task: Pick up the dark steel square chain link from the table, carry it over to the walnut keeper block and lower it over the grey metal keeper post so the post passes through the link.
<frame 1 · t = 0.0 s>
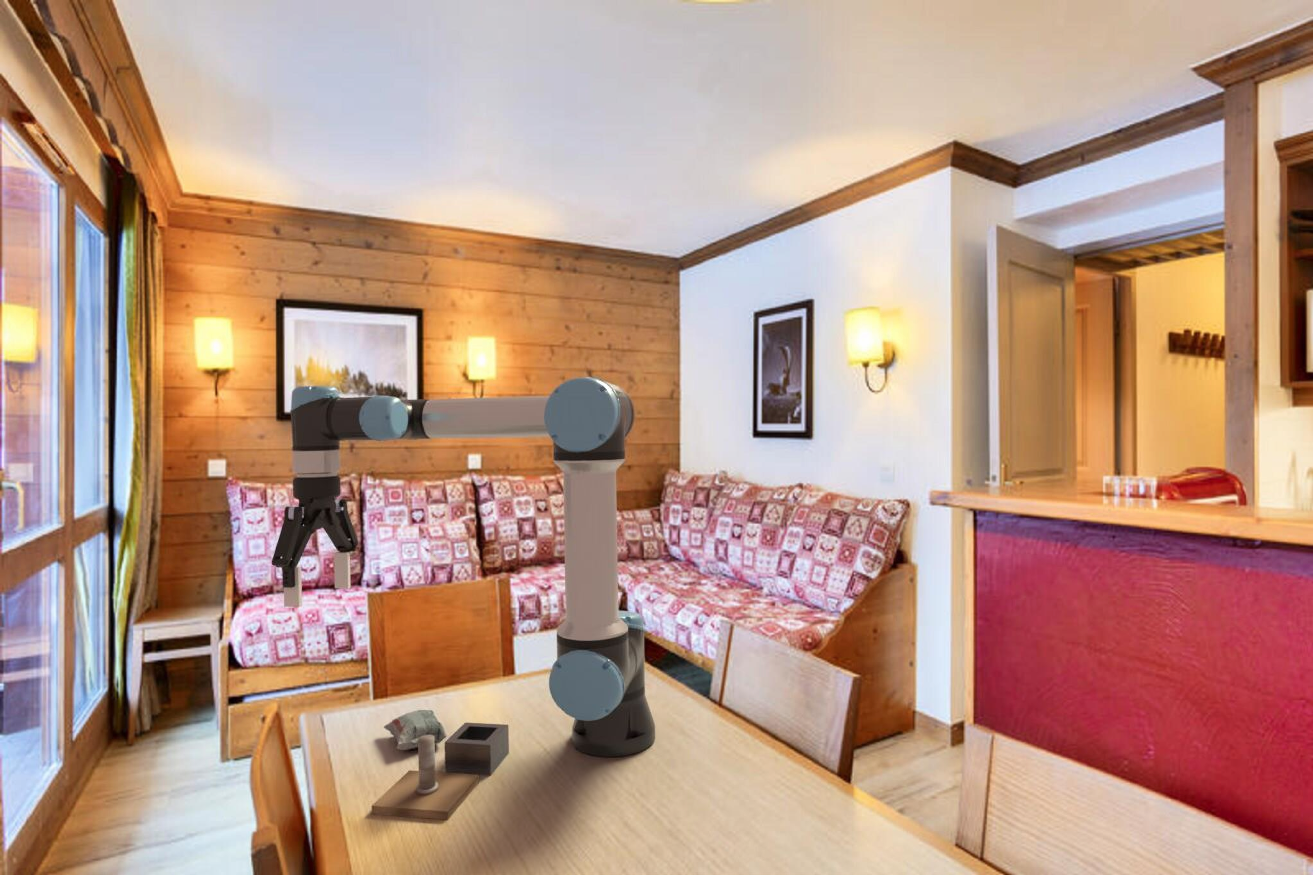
hand: (319, 596, 123), 28 cm above the table, fingers open, 13 cm apart
link: (477, 762, 120), on the table
keeper: (427, 797, 109), on the table
packaged food: (414, 744, 129), on the table
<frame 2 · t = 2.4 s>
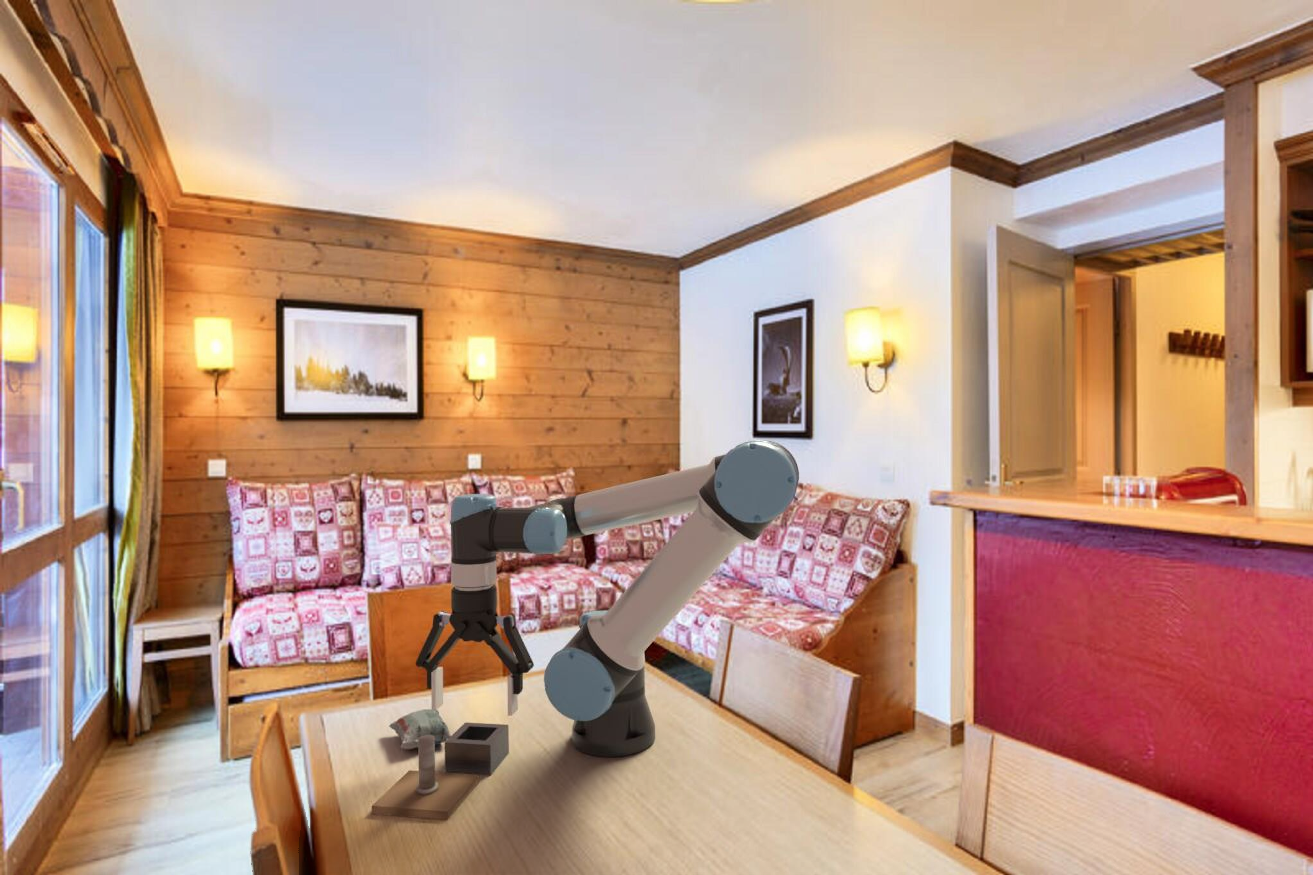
hand: (474, 710, 120), 9 cm above the table, fingers open, 13 cm apart
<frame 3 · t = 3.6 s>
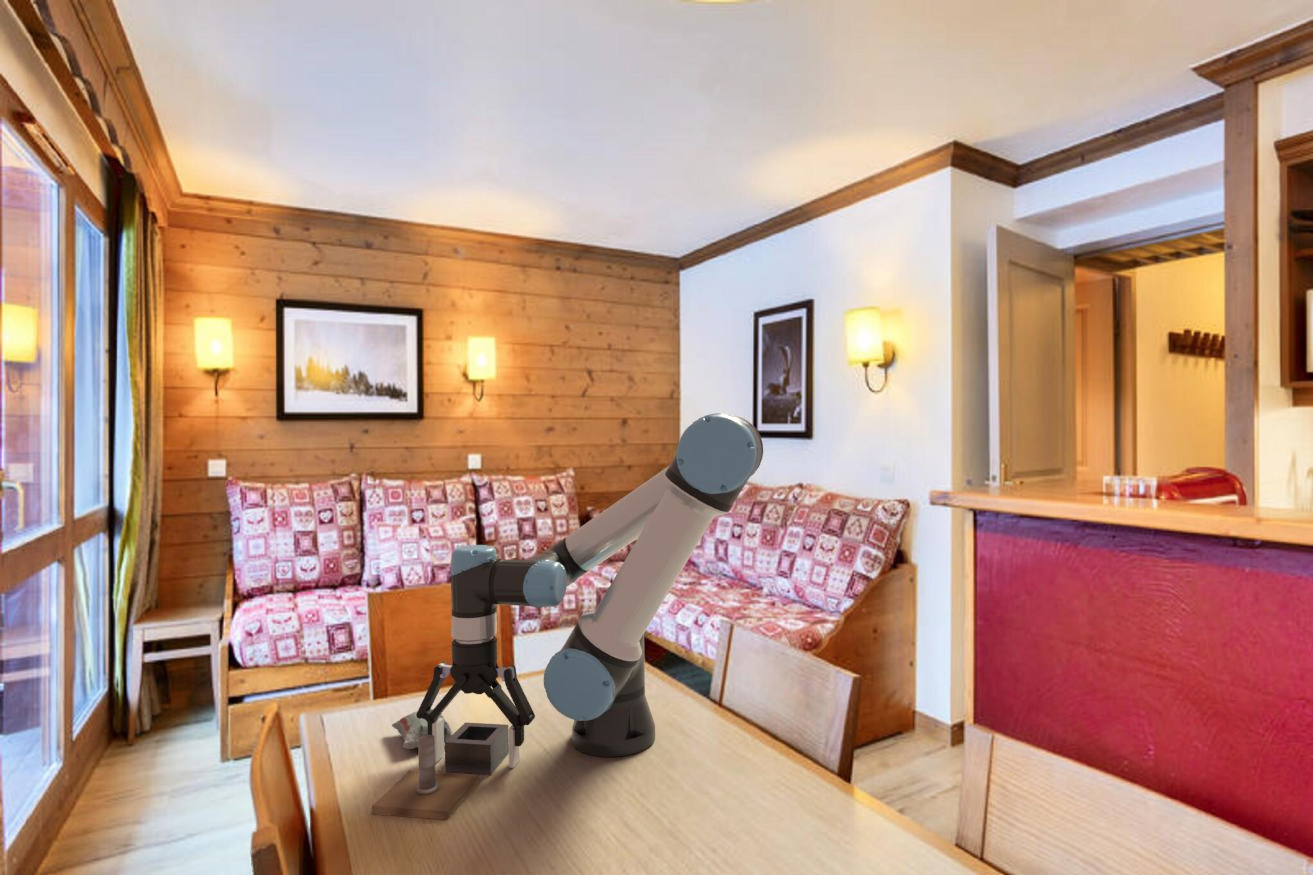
hand: (476, 761, 121), 0 cm above the table, fingers open, 13 cm apart
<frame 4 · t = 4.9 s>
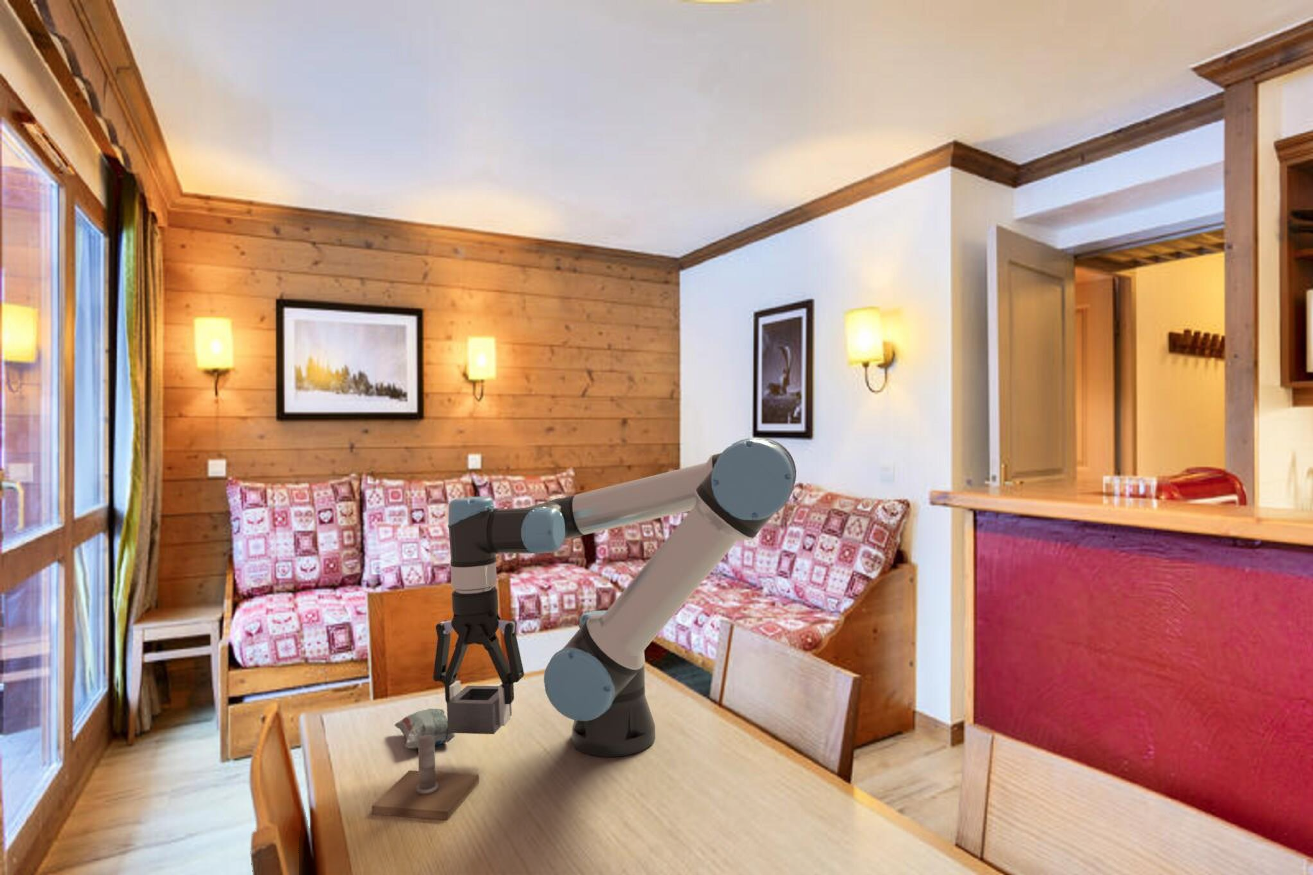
hand: (480, 721, 120), 7 cm above the table, fingers closed on link, 8 cm apart
link: (480, 723, 120), point 7 cm above the table, touching gripper
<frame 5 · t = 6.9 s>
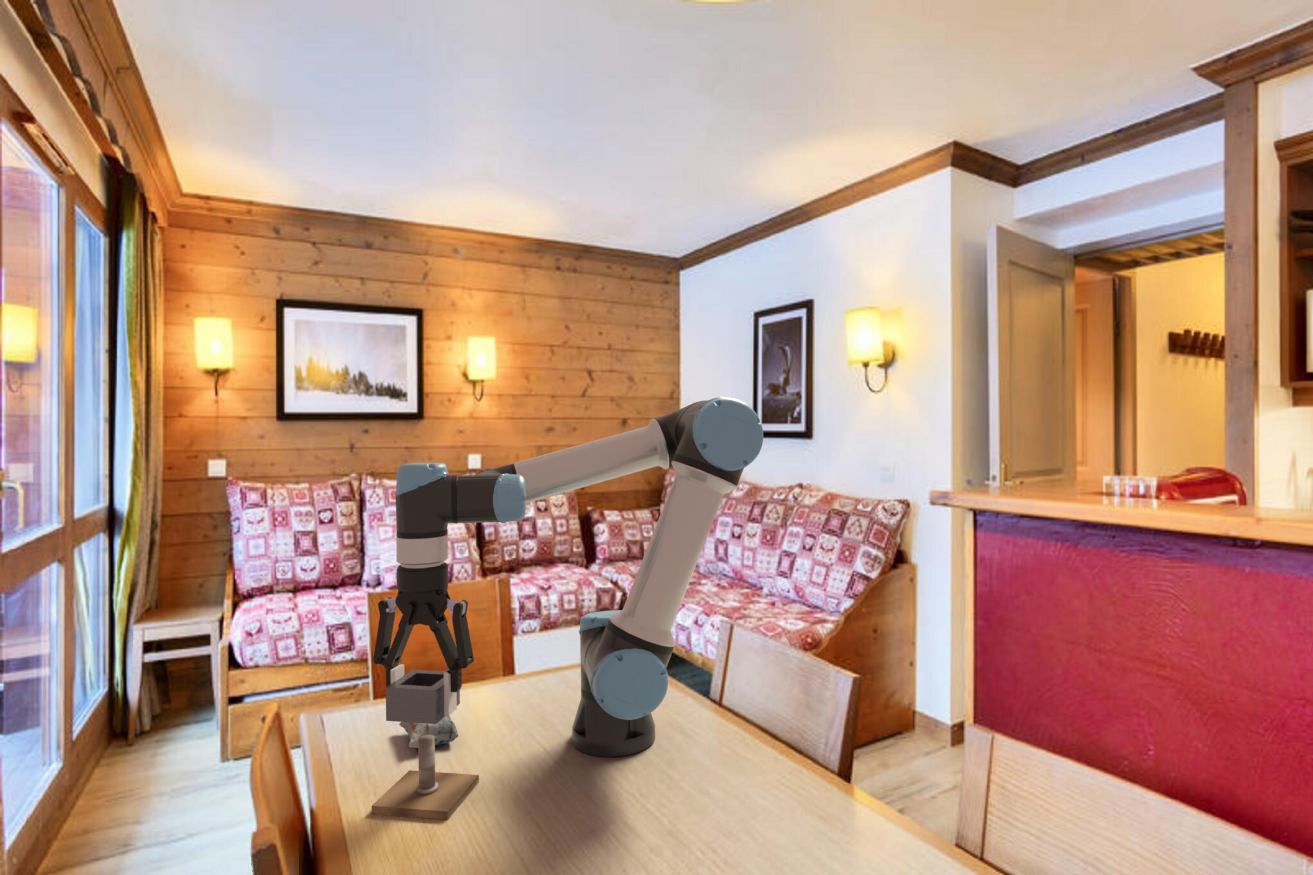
hand: (424, 710, 109), 14 cm above the table, fingers closed on link, 8 cm apart
link: (424, 711, 109), point 13 cm above the table, touching gripper
when the fingers open (2 cm above the table, at t = 9.0 s): link stays where it is, resting on keeper.
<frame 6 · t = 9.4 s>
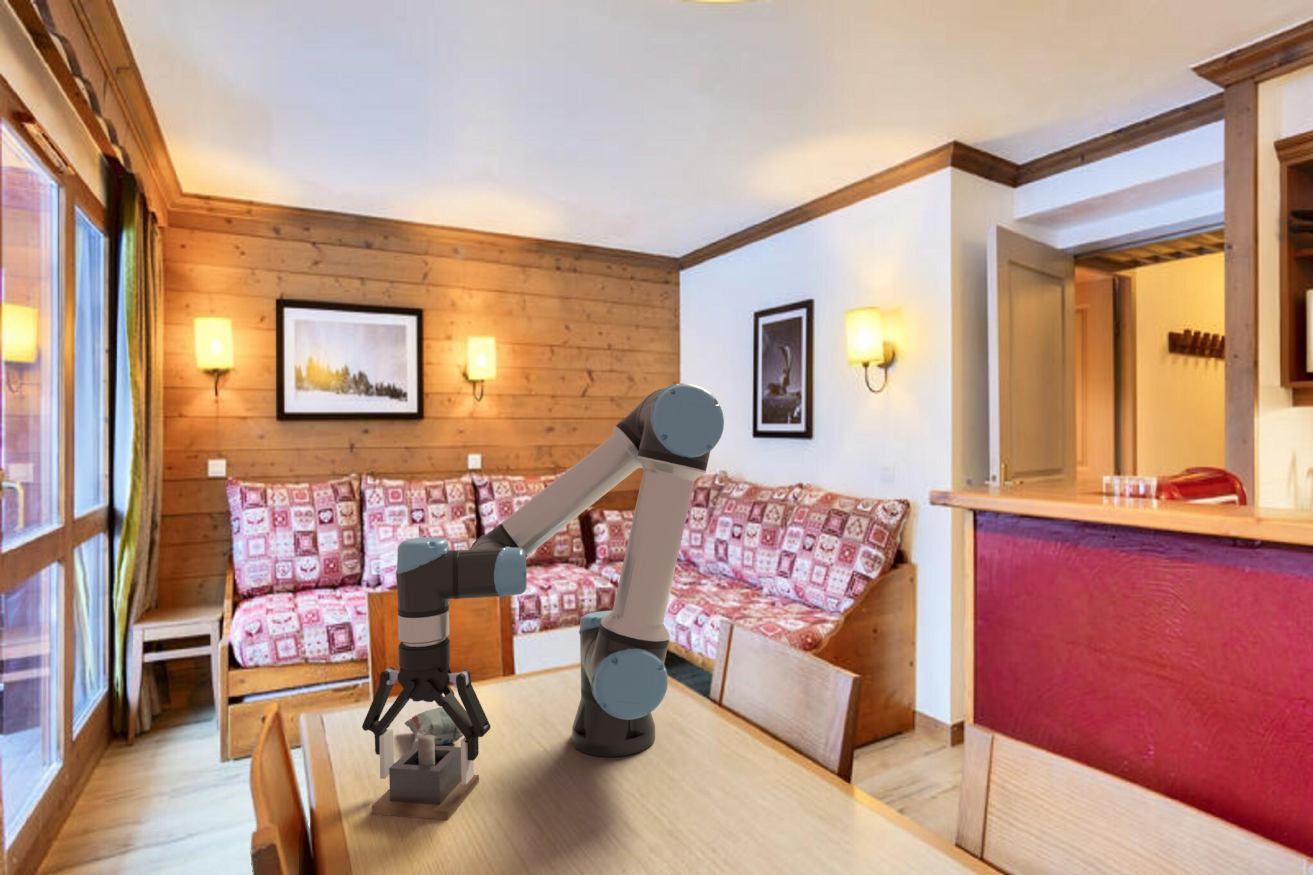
hand: (427, 777, 109), 3 cm above the table, fingers open, 13 cm apart
link: (427, 789, 109), point 1 cm above the table, touching keeper
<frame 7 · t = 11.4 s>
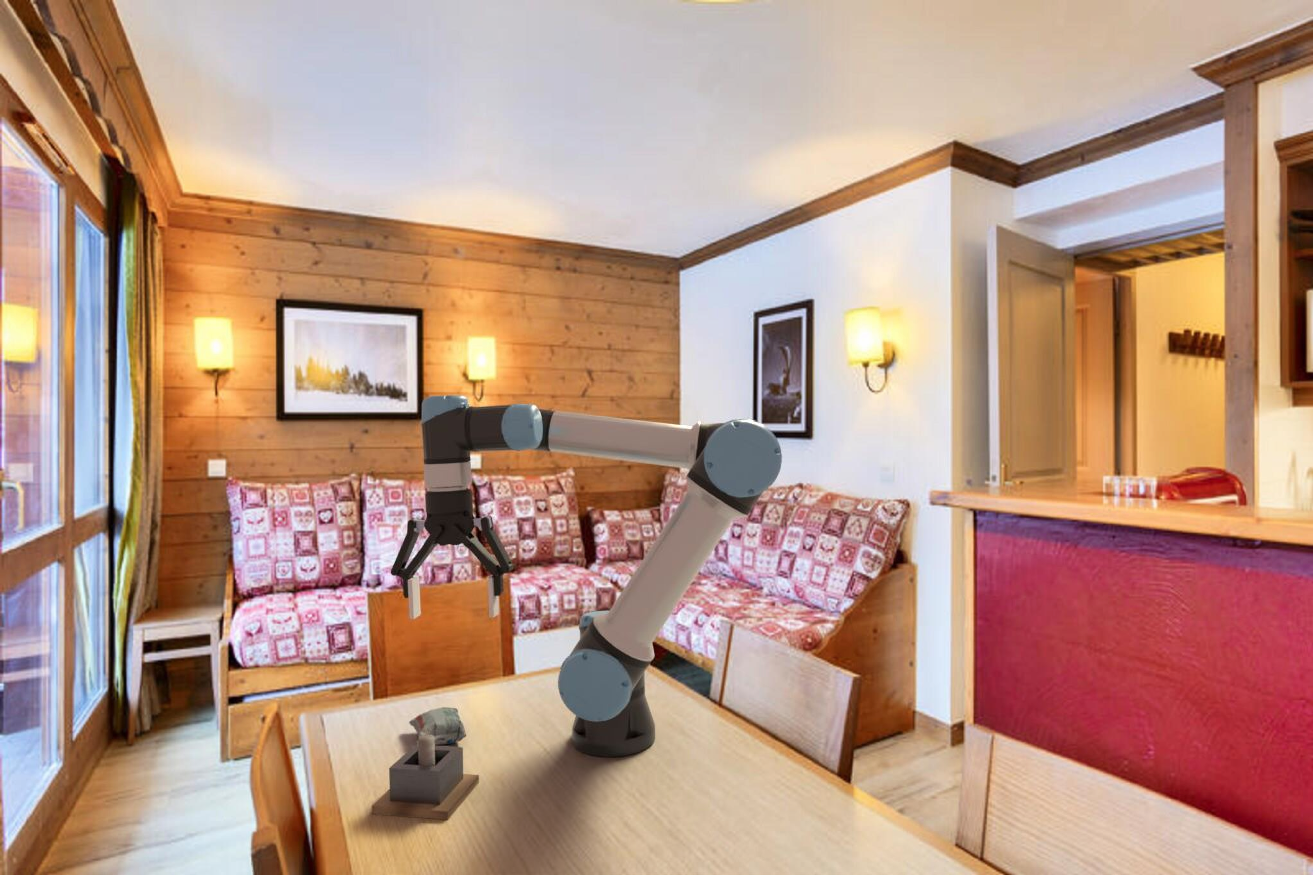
hand: (454, 616, 118), 26 cm above the table, fingers open, 13 cm apart
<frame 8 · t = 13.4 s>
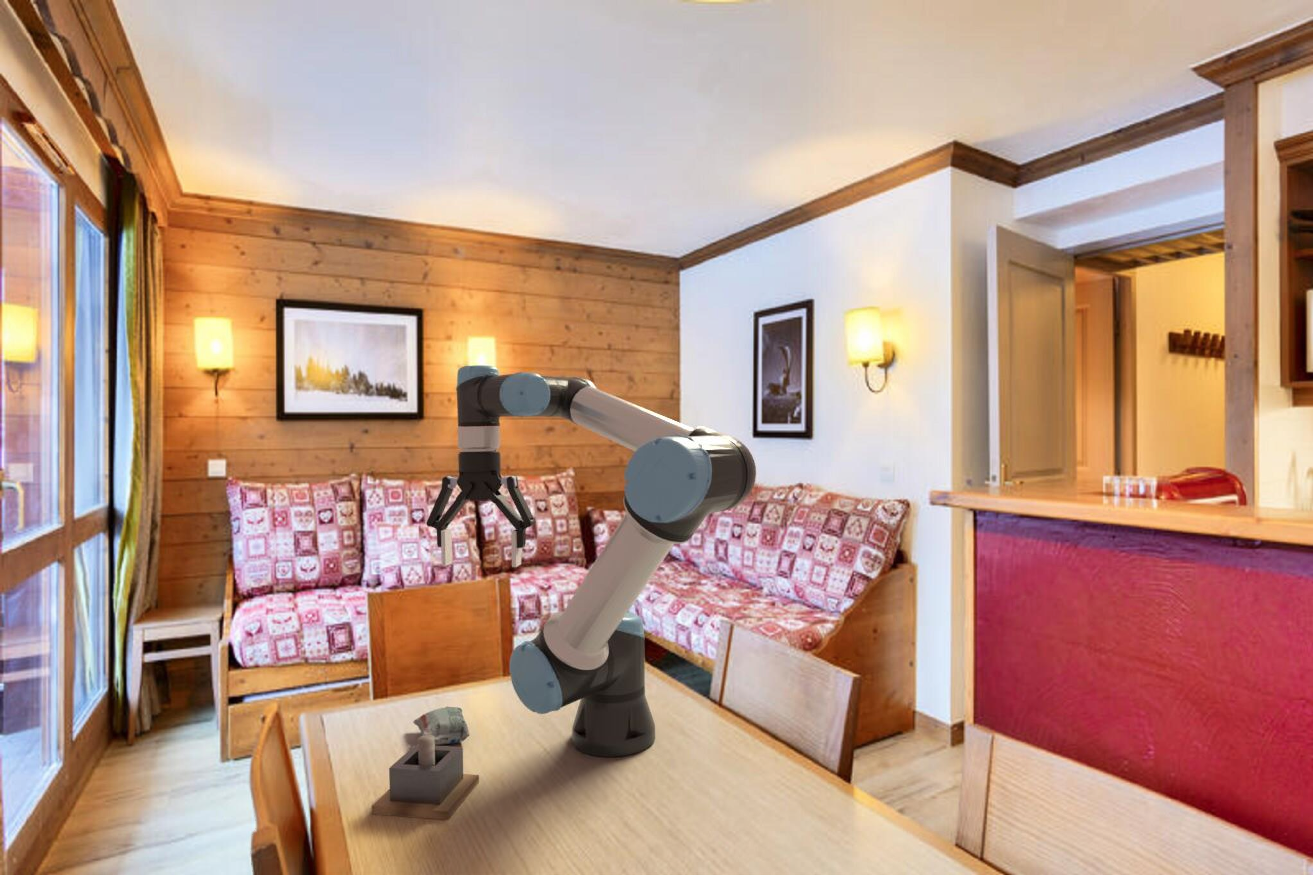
hand: (481, 565, 130), 32 cm above the table, fingers open, 13 cm apart
at the end: link 0.0 cm off-centre on the keeper, point 1.2 cm above the keeper's base; the gripper is holding nothing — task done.
